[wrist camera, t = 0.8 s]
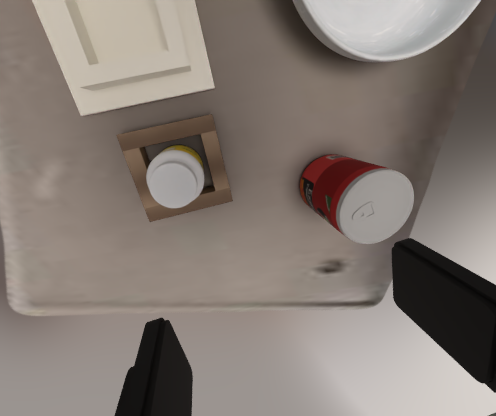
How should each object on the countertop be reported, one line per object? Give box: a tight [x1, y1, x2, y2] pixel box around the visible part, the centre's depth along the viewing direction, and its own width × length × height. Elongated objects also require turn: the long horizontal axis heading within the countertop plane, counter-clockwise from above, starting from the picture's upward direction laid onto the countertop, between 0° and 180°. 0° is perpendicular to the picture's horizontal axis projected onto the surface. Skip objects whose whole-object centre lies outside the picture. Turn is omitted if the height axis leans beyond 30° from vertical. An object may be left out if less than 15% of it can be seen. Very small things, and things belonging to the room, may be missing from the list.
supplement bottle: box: [146, 145, 205, 208], centre depth 26 cm, size 5×5×10 cm
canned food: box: [300, 155, 414, 244], centre depth 29 cm, size 8×8×11 cm
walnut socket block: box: [116, 114, 233, 222], centre depth 29 cm, size 10×10×2 cm
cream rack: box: [32, 0, 215, 116], centre depth 21 cm, size 14×14×8 cm
